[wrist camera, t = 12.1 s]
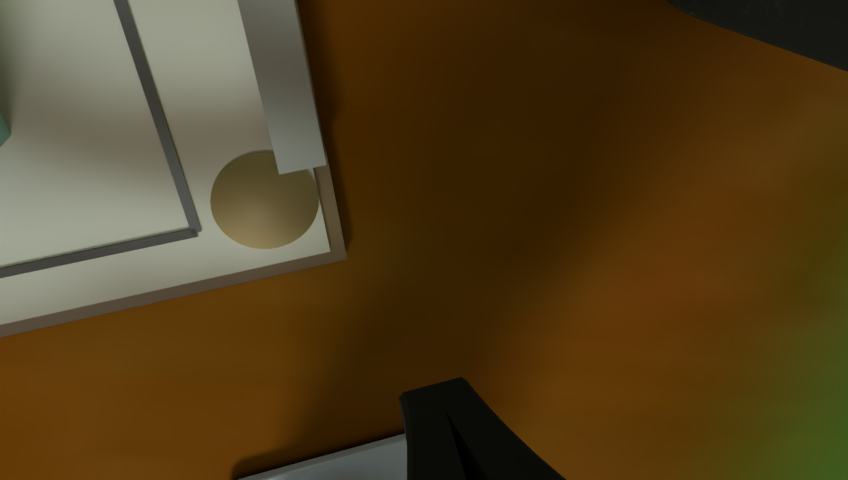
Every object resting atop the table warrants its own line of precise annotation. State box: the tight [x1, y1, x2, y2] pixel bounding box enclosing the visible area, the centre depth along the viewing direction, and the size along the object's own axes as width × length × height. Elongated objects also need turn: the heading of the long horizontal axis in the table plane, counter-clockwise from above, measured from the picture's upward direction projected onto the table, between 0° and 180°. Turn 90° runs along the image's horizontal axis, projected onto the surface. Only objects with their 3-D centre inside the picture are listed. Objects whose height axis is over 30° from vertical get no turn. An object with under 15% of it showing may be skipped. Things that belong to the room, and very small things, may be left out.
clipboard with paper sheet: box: [0, 0, 347, 337], centre depth 17 cm, size 12×15×1 cm
